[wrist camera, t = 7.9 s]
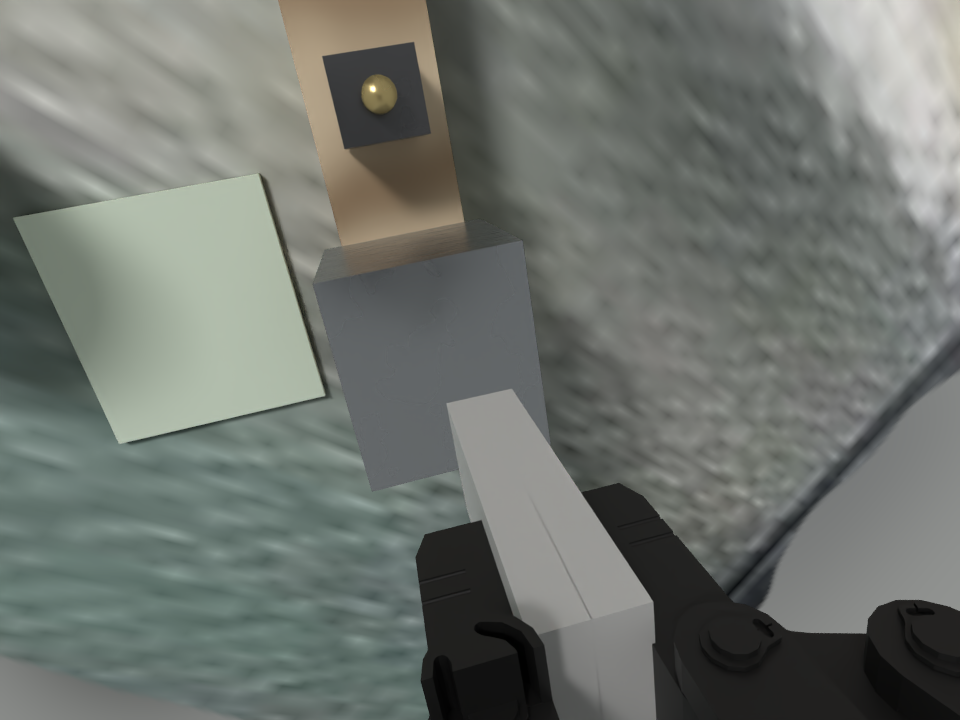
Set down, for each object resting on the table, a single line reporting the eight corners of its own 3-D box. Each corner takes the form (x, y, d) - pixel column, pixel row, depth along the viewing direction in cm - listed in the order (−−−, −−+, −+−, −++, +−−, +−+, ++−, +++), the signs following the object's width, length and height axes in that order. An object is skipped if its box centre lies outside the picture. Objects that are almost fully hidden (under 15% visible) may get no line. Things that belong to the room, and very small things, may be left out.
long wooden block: (264, -84, 24) (241, -140, 19) (390, -99, 25) (398, -158, 20) (382, 379, 32) (386, 417, 28) (474, 358, 33) (493, 391, 28)
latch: (326, 68, 22) (320, 52, 18) (407, 55, 22) (416, 37, 19) (345, 149, 23) (343, 148, 19) (422, 135, 23) (433, 132, 20)
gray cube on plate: (324, 249, 24) (312, 284, 18) (480, 218, 25) (522, 240, 19) (368, 411, 27) (371, 491, 21) (506, 378, 28) (550, 445, 22)
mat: (17, 216, 26) (12, 217, 25) (259, 173, 27) (258, 173, 27) (122, 440, 30) (119, 443, 30) (325, 393, 32) (325, 395, 31)
